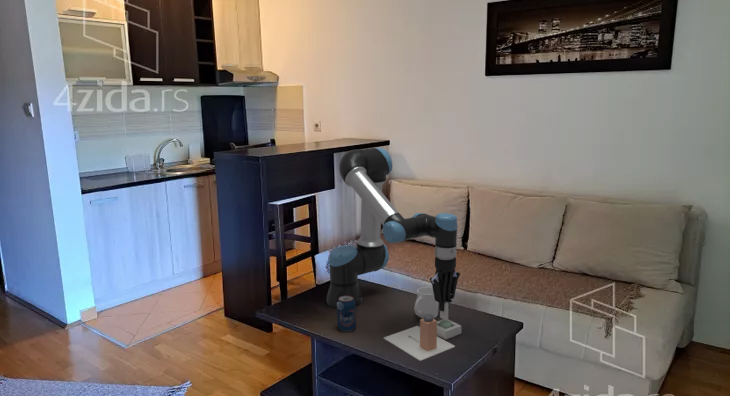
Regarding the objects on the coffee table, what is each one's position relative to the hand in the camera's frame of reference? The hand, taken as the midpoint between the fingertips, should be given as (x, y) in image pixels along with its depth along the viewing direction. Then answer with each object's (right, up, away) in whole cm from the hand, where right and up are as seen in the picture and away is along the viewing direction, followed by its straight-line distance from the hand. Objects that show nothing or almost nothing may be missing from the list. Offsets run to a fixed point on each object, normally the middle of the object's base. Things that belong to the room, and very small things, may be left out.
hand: (444, 318), depth 185 cm
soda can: (-36, -5, +5) cm, 37 cm away
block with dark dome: (-7, -7, -11) cm, 15 cm away
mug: (-6, -3, +14) cm, 15 cm away
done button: (+1, -4, 0) cm, 4 cm away
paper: (-10, -7, -7) cm, 14 cm away
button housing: (+1, -5, 0) cm, 5 cm away
